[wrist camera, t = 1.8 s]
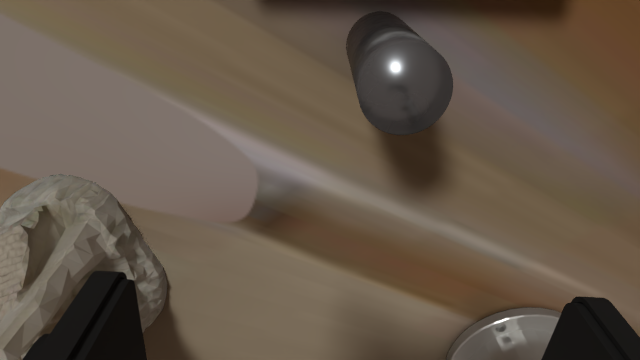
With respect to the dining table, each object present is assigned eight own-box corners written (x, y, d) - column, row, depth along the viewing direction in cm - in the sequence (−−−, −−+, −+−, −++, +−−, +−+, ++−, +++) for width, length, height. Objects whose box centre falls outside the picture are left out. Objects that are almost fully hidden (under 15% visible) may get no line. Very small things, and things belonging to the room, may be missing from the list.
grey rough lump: (112, 163, 31) (-53, 334, 19) (194, 324, 39) (119, 522, 26) (-73, 197, 34) (-333, 369, 21) (39, 342, 42) (-99, 532, 29)
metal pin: (414, 12, 27) (460, 44, 18) (406, 78, 29) (444, 136, 20) (348, 10, 27) (361, 40, 18) (344, 76, 29) (354, 133, 20)
